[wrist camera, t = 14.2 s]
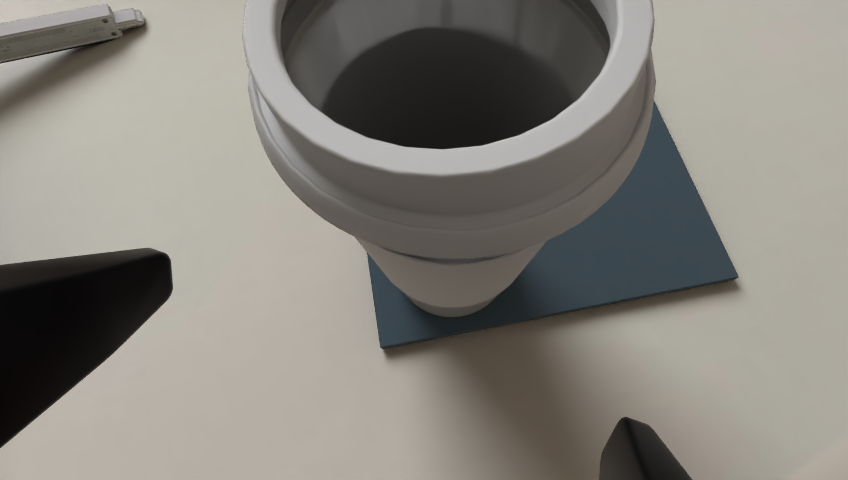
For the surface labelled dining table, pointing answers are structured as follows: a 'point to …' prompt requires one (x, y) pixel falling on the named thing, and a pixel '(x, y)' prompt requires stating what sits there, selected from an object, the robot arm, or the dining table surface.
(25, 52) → the caliper
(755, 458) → the dining table surface
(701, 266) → the mat
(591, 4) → the cup
